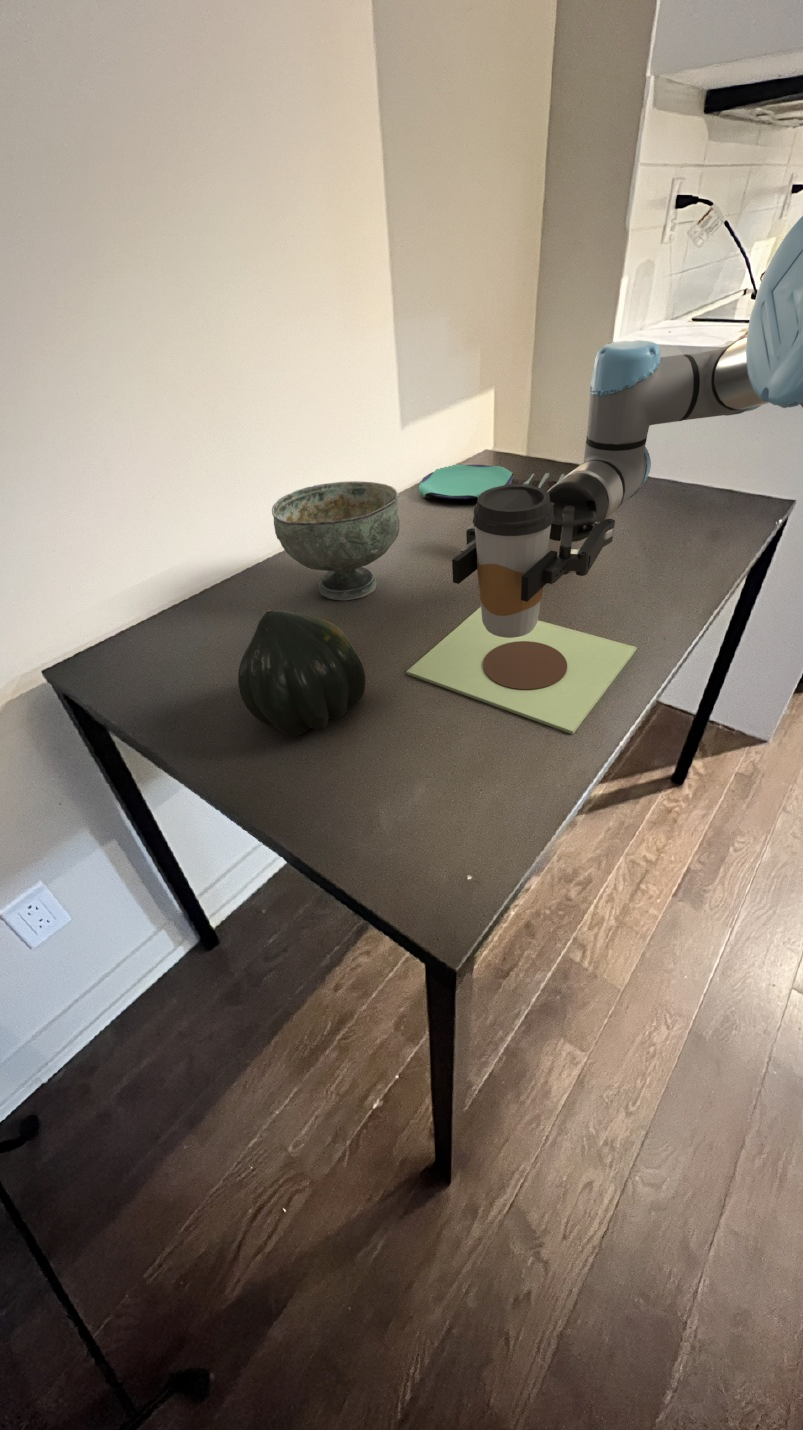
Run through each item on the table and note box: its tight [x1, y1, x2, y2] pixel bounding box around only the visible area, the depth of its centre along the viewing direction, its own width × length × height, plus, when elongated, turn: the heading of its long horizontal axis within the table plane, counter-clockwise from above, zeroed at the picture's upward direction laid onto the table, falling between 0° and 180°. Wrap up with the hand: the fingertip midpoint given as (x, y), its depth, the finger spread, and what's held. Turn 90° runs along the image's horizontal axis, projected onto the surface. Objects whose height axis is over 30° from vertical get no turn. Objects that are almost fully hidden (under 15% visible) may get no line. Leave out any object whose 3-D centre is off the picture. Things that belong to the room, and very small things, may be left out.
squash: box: [237, 609, 366, 737], centre depth 76 cm, size 14×15×15 cm
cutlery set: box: [418, 463, 566, 500], centre depth 133 cm, size 20×30×2 cm, turn 66°
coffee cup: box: [472, 484, 554, 638], centre depth 68 cm, size 8×8×15 cm
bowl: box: [271, 480, 401, 601], centre depth 101 cm, size 20×19×15 cm
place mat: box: [406, 606, 638, 735], centre depth 84 cm, size 24×20×1 cm
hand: (489, 580), depth 65 cm, fingers closed on coffee cup, 7 cm apart
